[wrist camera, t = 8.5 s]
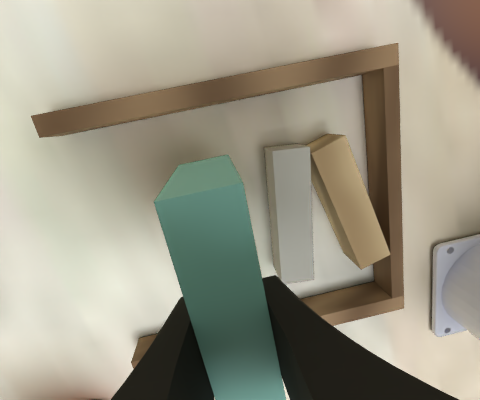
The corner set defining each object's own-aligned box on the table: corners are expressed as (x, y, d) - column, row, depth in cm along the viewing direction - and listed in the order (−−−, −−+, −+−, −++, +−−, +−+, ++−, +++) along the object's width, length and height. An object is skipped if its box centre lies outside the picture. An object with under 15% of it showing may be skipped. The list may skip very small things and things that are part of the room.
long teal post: (228, 154, 11) (242, 182, 6) (268, 346, 14) (299, 466, 9) (178, 164, 11) (153, 202, 6) (230, 356, 14) (241, 482, 9)
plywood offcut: (325, 133, 16) (345, 135, 14) (367, 237, 19) (390, 254, 16) (296, 149, 16) (311, 153, 14) (341, 251, 19) (361, 269, 16)
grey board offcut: (295, 143, 16) (309, 146, 14) (300, 259, 19) (314, 279, 16) (263, 147, 16) (272, 151, 14) (272, 263, 19) (281, 284, 16)
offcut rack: (374, 52, 15) (398, 42, 13) (385, 290, 20) (404, 308, 18) (54, 116, 14) (30, 116, 12) (143, 349, 19) (135, 374, 17)
